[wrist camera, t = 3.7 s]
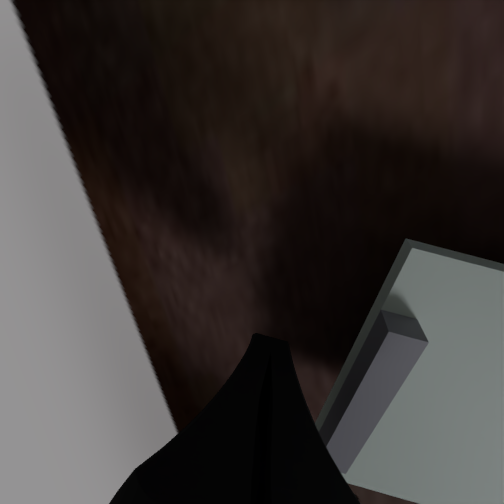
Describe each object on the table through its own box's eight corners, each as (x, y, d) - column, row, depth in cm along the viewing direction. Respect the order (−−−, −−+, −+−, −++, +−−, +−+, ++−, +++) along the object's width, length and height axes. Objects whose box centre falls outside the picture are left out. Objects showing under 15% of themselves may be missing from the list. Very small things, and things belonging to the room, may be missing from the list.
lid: (521, 517, 15) (547, 567, 13) (300, 454, 15) (299, 496, 14) (750, 328, 10) (838, 374, 8) (405, 238, 10) (424, 265, 8)
